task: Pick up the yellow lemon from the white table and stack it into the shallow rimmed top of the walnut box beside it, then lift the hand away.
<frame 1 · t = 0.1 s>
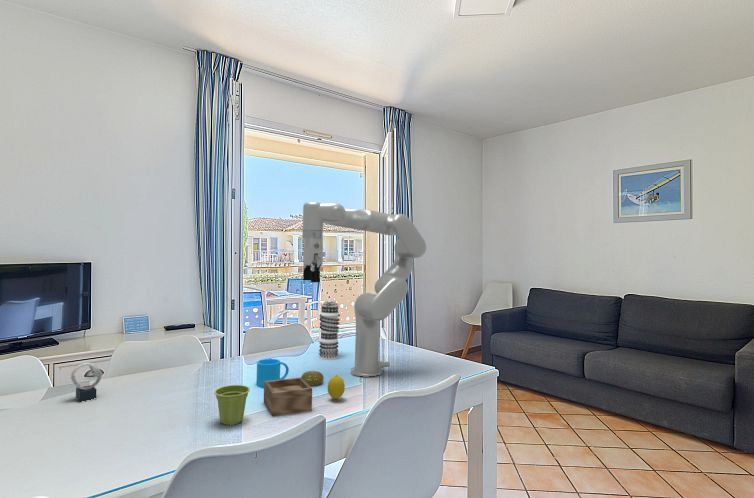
hand: (311, 281, 159), 37 cm above the table, tool pointing down, fingers open, 9 cm apart
mug: (273, 384, 153), on the table
decorative candle: (328, 357, 192), on the table
lemon: (335, 400, 138), on the table
watch: (86, 398, 133), on the table
plant pot: (231, 421, 119), on the table
walnut box: (287, 407, 131), on the table
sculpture: (312, 384, 154), on the table
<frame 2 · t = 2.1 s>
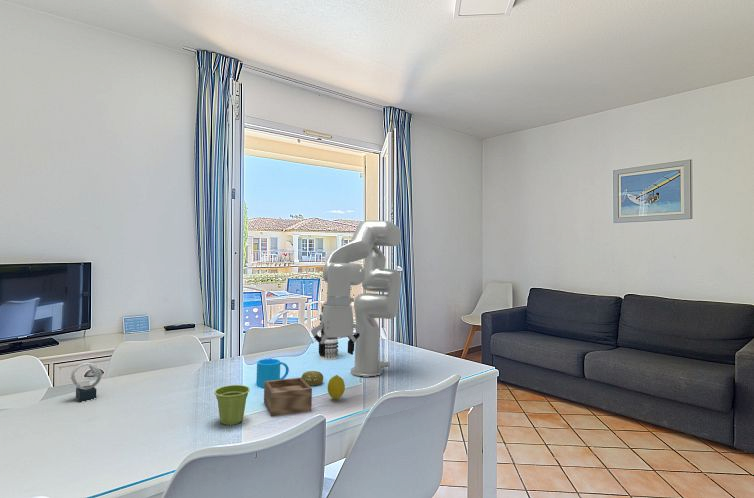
hand: (336, 354, 138), 15 cm above the table, tool pointing down, fingers open, 9 cm apart
nothing on the table moved.
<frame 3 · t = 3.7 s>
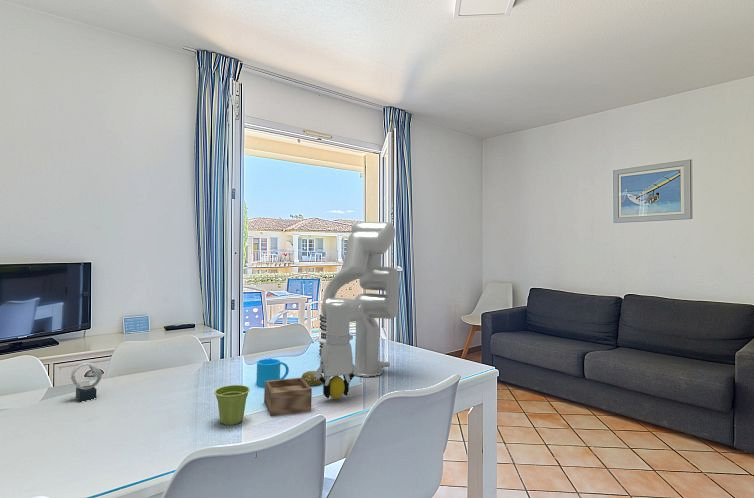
hand: (335, 395, 138), 2 cm above the table, tool pointing down, fingers closed on lemon, 5 cm apart
lemon: (335, 400, 138), on the table, touching gripper
everything else where it was.
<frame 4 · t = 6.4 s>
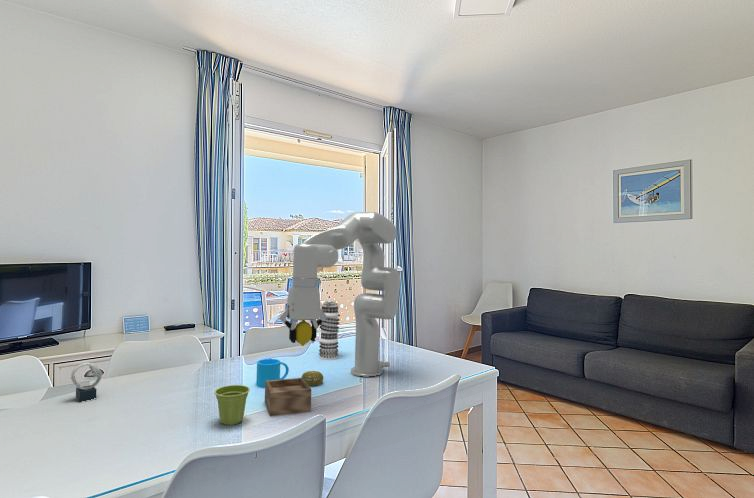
hand: (302, 340, 133), 20 cm above the table, tool pointing down, fingers closed on lemon, 5 cm apart
lemon: (302, 346, 133), point 18 cm above the table, touching gripper
everything else where it was.
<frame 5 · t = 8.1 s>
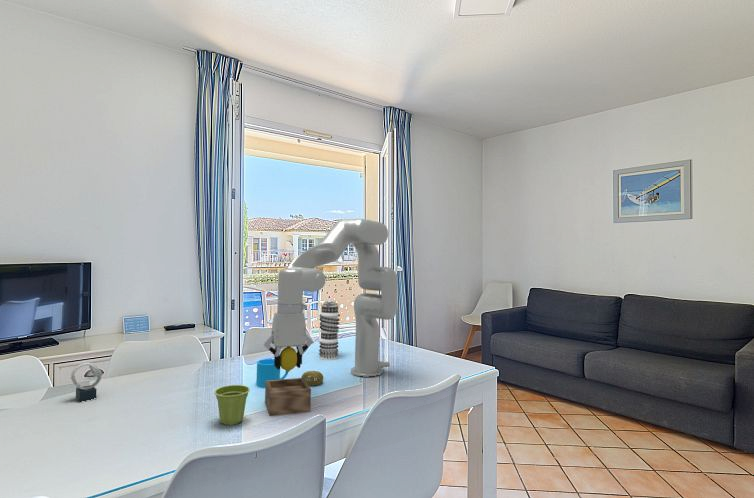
hand: (288, 367, 131), 12 cm above the table, tool pointing down, fingers closed on lemon, 5 cm apart
lemon: (287, 372, 131), point 10 cm above the table, touching gripper
everything else where it was.
when the fingers open (8 cm above the table, at t = 9.3 s): lemon drops 2 cm, resting on walnut box.
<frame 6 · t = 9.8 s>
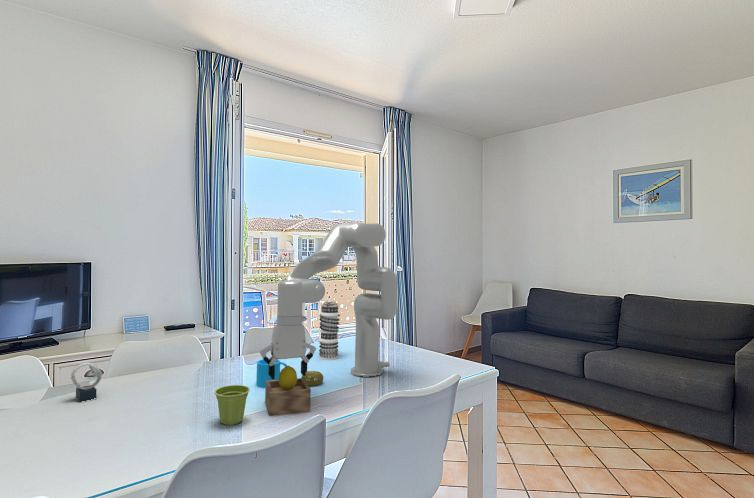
hand: (287, 376, 131), 9 cm above the table, tool pointing down, fingers open, 9 cm apart
lemon: (287, 392, 131), point 4 cm above the table, touching walnut box
walnut box: (287, 407, 131), on the table, touching lemon
everything else where it was.
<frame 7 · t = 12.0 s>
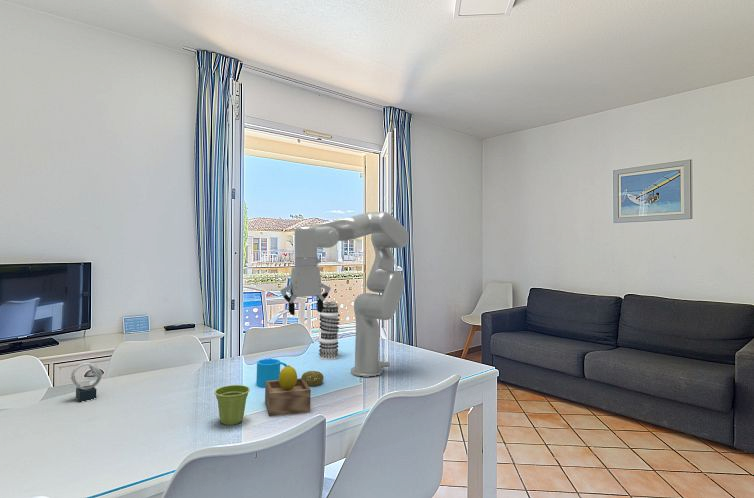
hand: (306, 313, 145), 27 cm above the table, tool pointing down, fingers open, 9 cm apart
nothing on the table moved.
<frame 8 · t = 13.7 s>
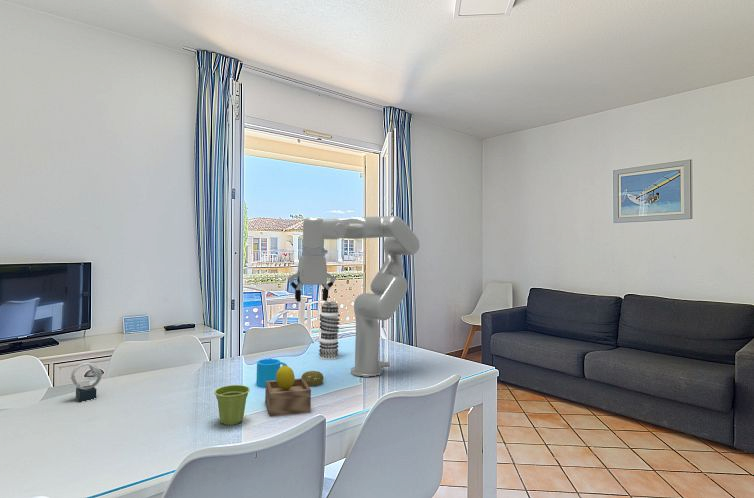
hand: (311, 301, 151), 30 cm above the table, tool pointing down, fingers open, 9 cm apart
lemon: (287, 391, 131), point 5 cm above the table
walnut box: (287, 408, 131), on the table
everything else where it was.
at the end: lemon inside the target area on the walnut box (0.1 cm from its centre), point 5.0 cm above the walnut box's base; the gripper is holding nothing; walnut box moved 0.5 cm from its start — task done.
